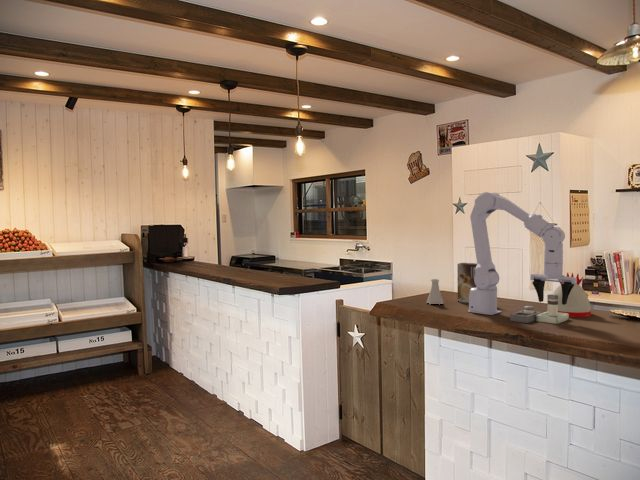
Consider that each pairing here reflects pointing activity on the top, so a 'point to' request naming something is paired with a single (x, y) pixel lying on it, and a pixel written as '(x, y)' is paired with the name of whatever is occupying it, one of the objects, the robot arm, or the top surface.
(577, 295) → the kitchen timer
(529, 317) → the grey compartment rack
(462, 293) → the coffee box
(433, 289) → the flask
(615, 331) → the top surface
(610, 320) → the top surface
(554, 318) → the parts tray
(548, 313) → the cylinder
